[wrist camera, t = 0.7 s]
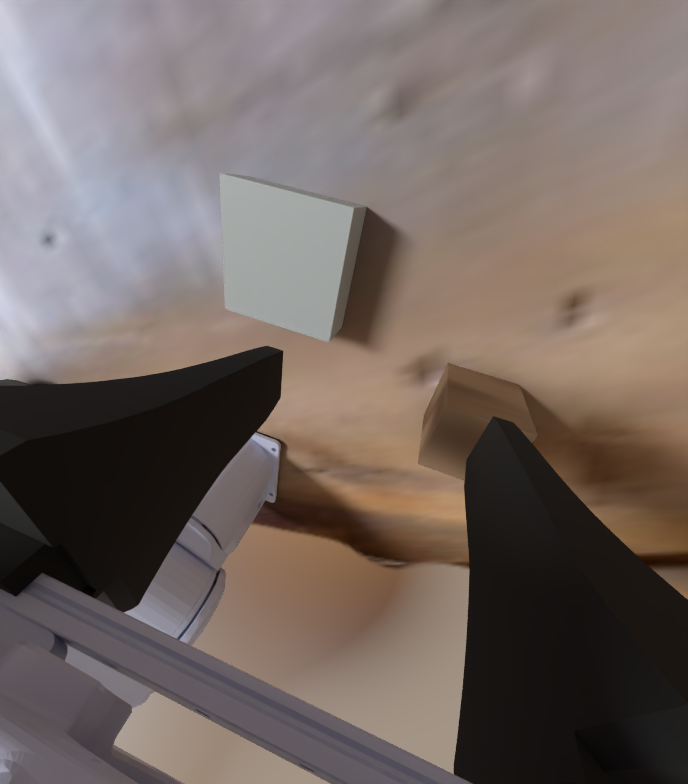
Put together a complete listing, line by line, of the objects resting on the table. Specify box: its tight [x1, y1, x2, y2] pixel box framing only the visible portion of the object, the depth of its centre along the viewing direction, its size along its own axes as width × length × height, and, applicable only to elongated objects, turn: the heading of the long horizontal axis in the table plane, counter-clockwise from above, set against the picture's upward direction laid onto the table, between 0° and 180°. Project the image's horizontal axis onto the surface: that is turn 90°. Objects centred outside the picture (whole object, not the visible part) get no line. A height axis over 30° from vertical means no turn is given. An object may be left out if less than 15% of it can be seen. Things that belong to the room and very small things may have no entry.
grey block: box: [220, 173, 367, 342], centre depth 17 cm, size 7×7×3 cm
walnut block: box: [418, 363, 538, 481], centre depth 18 cm, size 4×4×5 cm
